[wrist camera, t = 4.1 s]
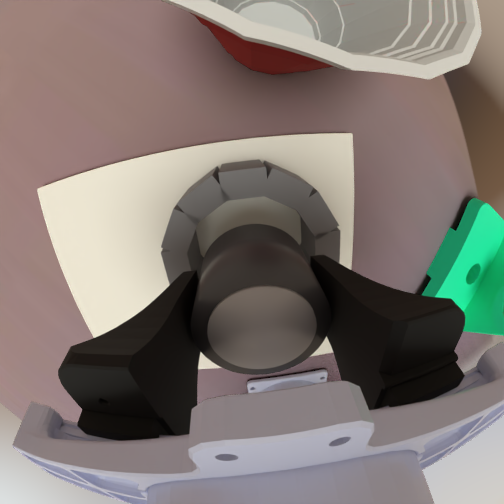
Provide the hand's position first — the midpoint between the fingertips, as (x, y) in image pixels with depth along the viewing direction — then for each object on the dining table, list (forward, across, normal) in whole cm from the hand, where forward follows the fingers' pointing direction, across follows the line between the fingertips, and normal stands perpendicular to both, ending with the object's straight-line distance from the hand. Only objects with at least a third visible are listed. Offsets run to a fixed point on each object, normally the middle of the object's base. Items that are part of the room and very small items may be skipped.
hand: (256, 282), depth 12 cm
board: (+6, +4, +3) cm, 8 cm away
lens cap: (+1, 0, 0) cm, 1 cm away
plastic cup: (+7, -3, -13) cm, 15 cm away
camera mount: (+7, -20, +5) cm, 22 cm away
